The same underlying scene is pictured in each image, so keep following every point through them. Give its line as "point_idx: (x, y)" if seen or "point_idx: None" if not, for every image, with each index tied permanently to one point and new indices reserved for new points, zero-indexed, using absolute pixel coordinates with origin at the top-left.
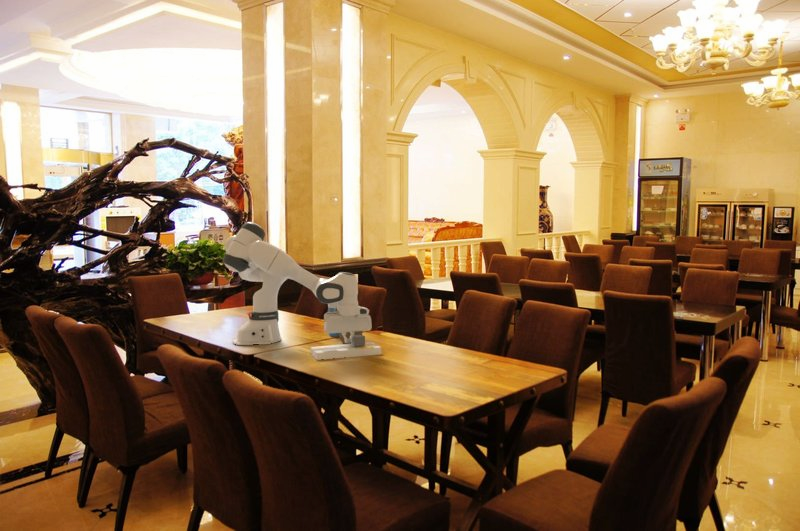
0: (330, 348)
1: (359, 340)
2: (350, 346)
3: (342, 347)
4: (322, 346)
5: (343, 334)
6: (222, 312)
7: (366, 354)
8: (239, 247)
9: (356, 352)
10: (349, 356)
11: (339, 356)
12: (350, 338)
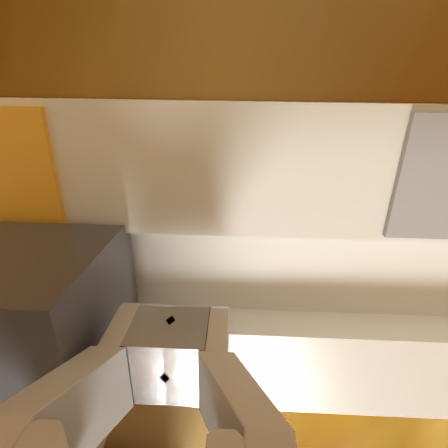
0: (384, 331)
1: None
2: None
3: (245, 326)
4: (445, 401)
5: (286, 444)
6: None
7: (17, 97)
8: None
9: (128, 99)
10: (227, 100)
11: (355, 102)
12: (128, 344)
